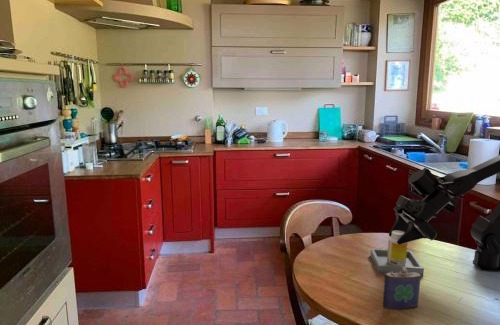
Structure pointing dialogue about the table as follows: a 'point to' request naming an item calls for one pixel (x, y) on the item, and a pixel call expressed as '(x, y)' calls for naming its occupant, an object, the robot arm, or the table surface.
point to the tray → (384, 267)
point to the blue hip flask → (401, 290)
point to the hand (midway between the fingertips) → (393, 239)
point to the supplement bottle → (396, 249)
